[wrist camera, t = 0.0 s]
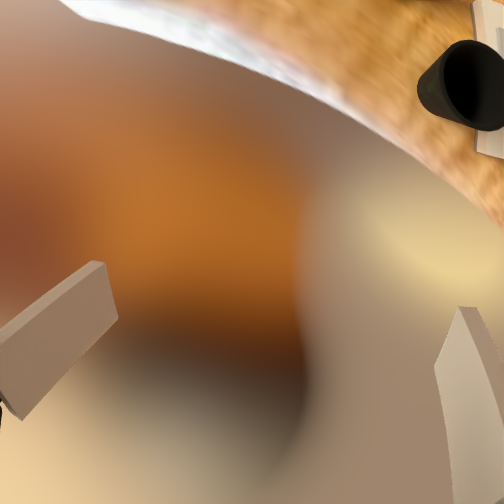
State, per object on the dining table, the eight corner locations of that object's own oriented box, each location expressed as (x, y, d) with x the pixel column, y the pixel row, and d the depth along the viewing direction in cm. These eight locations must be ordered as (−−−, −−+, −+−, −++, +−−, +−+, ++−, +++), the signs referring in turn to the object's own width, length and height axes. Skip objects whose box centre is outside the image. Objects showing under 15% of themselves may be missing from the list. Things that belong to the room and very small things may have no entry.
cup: (478, 93, 26) (530, 89, 15) (446, 138, 29) (490, 151, 19) (429, 48, 25) (466, 21, 15) (395, 94, 29) (422, 83, 19)
